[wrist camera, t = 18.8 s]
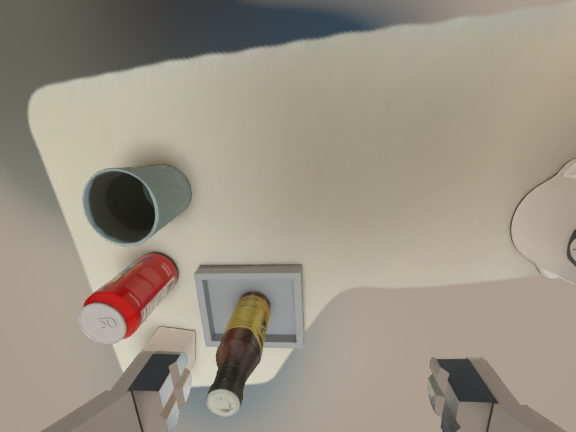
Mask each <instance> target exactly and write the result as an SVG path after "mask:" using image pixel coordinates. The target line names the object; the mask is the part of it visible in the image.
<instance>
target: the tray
mask: <svg viewBox="0 0 576 432" xmlns="http://www.w3.org/2000/svg"><path fill="white" fill-rule="evenodd" d="M194 276H195V282H196V288H197V295H198V301H199V307H200V313H201V319H202V325H203V331H204V337H205V344H206V346H208V347H219V345H220V343H221V339H222V336H223V334H224V331H225V329H226V327H227V324H228V322H229V320H230V318H231V315H232V313H233V311H234V309H235V306H236V304H237V302H238V301H239V299H240V298H241V297H242V296H243V295H244V294H246V293H250V292H255V293H259V294H262V295H263V296H264V297H265V298H267V300H268V301H269V304H270V318H269V322H268V327H267V332H266V337H265V341H264V346H263V347H264V348H304V322H303V297H302V271H301V265H201V266H200V267H199V268H198V269H197V271H196V272H195V273H194Z"/></svg>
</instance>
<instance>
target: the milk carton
mask: <svg viewBox="0 0 576 432" xmlns="http://www.w3.org/2000/svg"><path fill="white" fill-rule="evenodd" d="M142 351H170V352H184V353H187V357H188V363H187V365H186V368H187V369H188V370H189V371H190V370H191V368H192V366H193V364H194V362H195V360H196V354H195V331H191V330H183V329H175V328H168V327H160V328H159V329H158V330H157V331H156V333H155V334H154V335H153V337H152V338H151V339H150V341H149V342H148V343H147V345H146V346H145V347H144V348H143V350H142ZM142 351H141V352H142Z"/></svg>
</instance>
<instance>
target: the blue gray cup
mask: <svg viewBox="0 0 576 432" xmlns="http://www.w3.org/2000/svg"><path fill="white" fill-rule="evenodd" d="M190 199H191V188H190V185H189V182H188V180H187V178H186V177H185V176H184V175H183V174H182V173H181V172H180V171H179V170H177V169H175V168H173V167H171V166H167V165H154V166H144V167H127V168H109V169H104V170H101V171H99V172H97V173H96V174H94V175H93V176H92V177H91V178H90V179H89V180H88V182H87V183H86V185H85V188H84V190H83V196H82V202H83V208H84V212H85V215H86V217H87V220H88V222H89V223H90V225H91V226H92V228H93V229H94V230H95V231H96V232H97V233H98V234H99V235H100V236H101V237H103V238H104V239H106V240H107V241H109V242H111V243H114V244H117V245H121V246H135V245H139V244H141V243H143V242H145V241H147V240H148V239H149V238H150V237H151V236H153V235H154V234H155V233H156V232H158V231H159V230H160V229H161V228H162V227H164V226H165V225H167V223H169V222H171V221H172V220H173V219H174V218H175V217H176V216H177V215H179V214H180V213H181V212H183V211H184V210H185V209H186V208H187V206H188V205H189V202H190Z"/></svg>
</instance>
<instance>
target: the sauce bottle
mask: <svg viewBox="0 0 576 432" xmlns="http://www.w3.org/2000/svg"><path fill="white" fill-rule="evenodd" d="M269 318H270V304H269V301H268V300H267V298H265V297H264V296H263V295H262V294H259V293H255V292H250V293H246V294H244V295H243V296H242V297H241V298H240V299H239V301H238V302H237V304H236V306H235V309H234V311H233V313H232V315H231V318H230V320H229V322H228V324H227V327H226V329H225V331H224V334H223V336H222V339H221V343H220V345H219V347H218V350H217V353H216V362H217V366H218V371H217V376H216V378H215V381H214V383H213V384H212V385H211V387H210V389H209V392H208V395H207V399H206V403H207V406H208V408H210V410H211V411H212V412H213V413H215V414H217V415H219V416H230V415H233V414H235V413H236V412H237V411H238V410H239V409H240V406H241V403H242V400H243V389H244V385H245V382H246V380H247V378H248V377H249V376H250V374H251V373H252V372H253V370H254V369H255V368H256V366H257V365H258V364H259V362H260V359H261V355H262V350H263V346H264V341H265V337H266V332H267V327H268V322H269Z"/></svg>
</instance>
